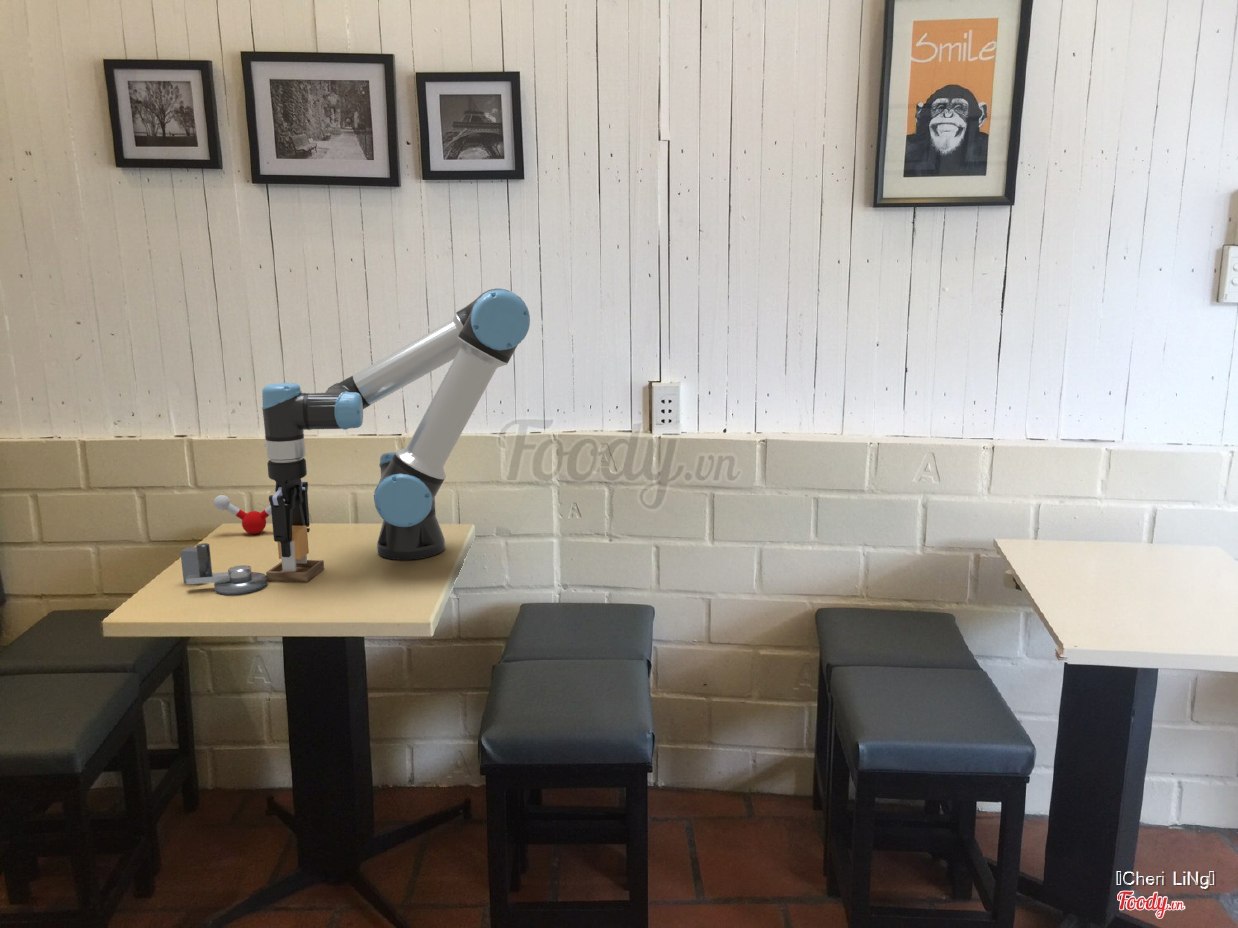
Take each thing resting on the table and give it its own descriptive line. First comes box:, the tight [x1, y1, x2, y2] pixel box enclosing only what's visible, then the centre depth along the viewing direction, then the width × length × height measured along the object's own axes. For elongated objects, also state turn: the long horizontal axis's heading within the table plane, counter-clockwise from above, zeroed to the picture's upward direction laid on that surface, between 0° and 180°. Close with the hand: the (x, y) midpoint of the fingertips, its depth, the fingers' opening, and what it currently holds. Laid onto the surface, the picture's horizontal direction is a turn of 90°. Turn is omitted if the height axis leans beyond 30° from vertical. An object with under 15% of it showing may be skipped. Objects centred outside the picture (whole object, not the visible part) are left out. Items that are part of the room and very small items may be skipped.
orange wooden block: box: [277, 525, 310, 560], centre depth 197 cm, size 4×4×6 cm
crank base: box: [211, 571, 268, 596], centre depth 192 cm, size 10×10×2 cm
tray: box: [265, 559, 325, 584], centre depth 198 cm, size 9×9×2 cm
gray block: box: [180, 546, 204, 585], centre depth 194 cm, size 4×3×7 cm
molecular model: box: [213, 494, 287, 535], centre depth 228 cm, size 18×6×10 cm, turn 102°
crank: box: [186, 542, 253, 585], centre depth 190 cm, size 12×4×8 cm, turn 103°
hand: (295, 566), depth 198 cm, fingers closed on orange wooden block, 4 cm apart
